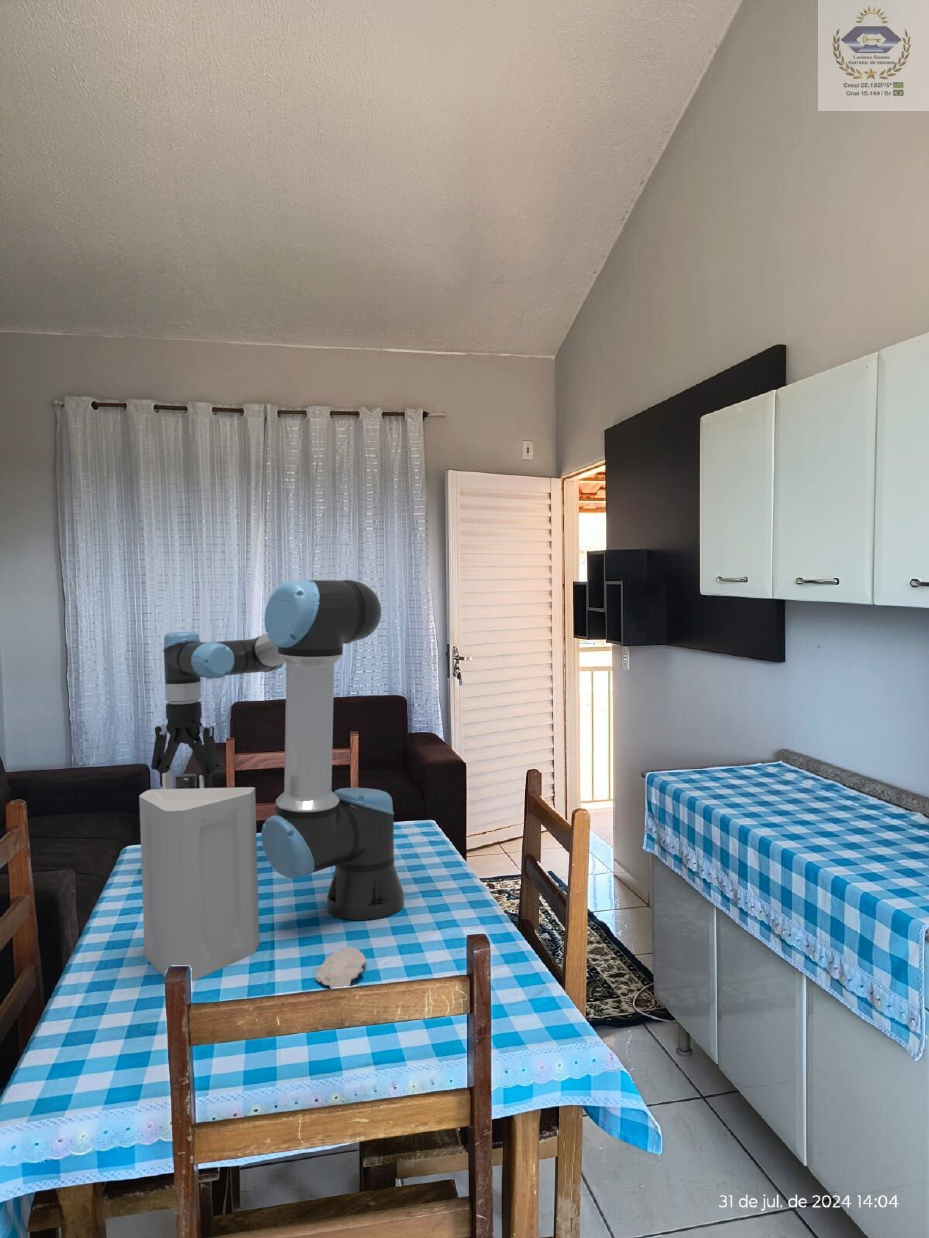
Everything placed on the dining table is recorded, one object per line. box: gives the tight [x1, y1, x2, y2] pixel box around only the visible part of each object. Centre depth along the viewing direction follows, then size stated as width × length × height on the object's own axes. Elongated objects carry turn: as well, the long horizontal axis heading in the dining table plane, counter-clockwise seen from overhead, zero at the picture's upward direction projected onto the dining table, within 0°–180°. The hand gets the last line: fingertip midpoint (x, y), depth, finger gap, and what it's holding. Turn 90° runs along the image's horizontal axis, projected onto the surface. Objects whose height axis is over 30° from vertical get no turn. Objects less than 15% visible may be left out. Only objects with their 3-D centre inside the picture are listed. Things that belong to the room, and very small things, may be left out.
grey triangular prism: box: [138, 786, 260, 982], centre depth 138 cm, size 19×15×28 cm
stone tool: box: [315, 946, 367, 989], centre depth 133 cm, size 8×3×15 cm
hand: (186, 802), depth 182 cm, fingers open, 9 cm apart
